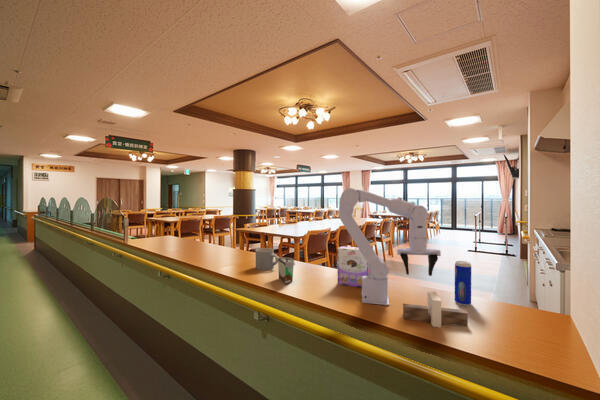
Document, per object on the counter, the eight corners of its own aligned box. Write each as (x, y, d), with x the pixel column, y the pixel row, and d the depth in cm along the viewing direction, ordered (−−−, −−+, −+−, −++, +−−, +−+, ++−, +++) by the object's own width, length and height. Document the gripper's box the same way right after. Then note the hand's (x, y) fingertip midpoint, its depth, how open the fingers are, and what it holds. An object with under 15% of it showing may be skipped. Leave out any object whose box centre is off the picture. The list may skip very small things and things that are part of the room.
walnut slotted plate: (403, 318, 84) (403, 306, 84) (402, 315, 87) (402, 303, 87) (467, 326, 79) (467, 313, 79) (465, 322, 82) (465, 310, 82)
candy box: (371, 285, 117) (371, 248, 117) (368, 289, 112) (368, 250, 111) (341, 280, 123) (341, 245, 123) (337, 284, 118) (337, 247, 118)
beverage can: (451, 301, 98) (451, 261, 98) (461, 299, 100) (461, 260, 100) (464, 307, 93) (464, 264, 93) (474, 304, 95) (474, 263, 95)
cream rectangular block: (427, 315, 87) (427, 290, 87) (435, 315, 86) (435, 291, 86) (432, 326, 79) (432, 300, 79) (441, 327, 79) (441, 300, 79)
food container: (299, 284, 118) (298, 261, 118) (285, 285, 116) (285, 263, 116) (289, 276, 130) (289, 256, 130) (277, 277, 127) (277, 257, 127)
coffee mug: (251, 268, 145) (251, 250, 144) (265, 264, 152) (265, 247, 152) (268, 272, 136) (268, 253, 136) (282, 268, 144) (282, 250, 144)
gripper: (397, 239, 95) (398, 276, 95) (442, 239, 91) (443, 279, 91) (396, 236, 102) (397, 271, 102) (437, 236, 98) (438, 273, 98)
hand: (418, 274), depth 97 cm, fingers open, 7 cm apart
